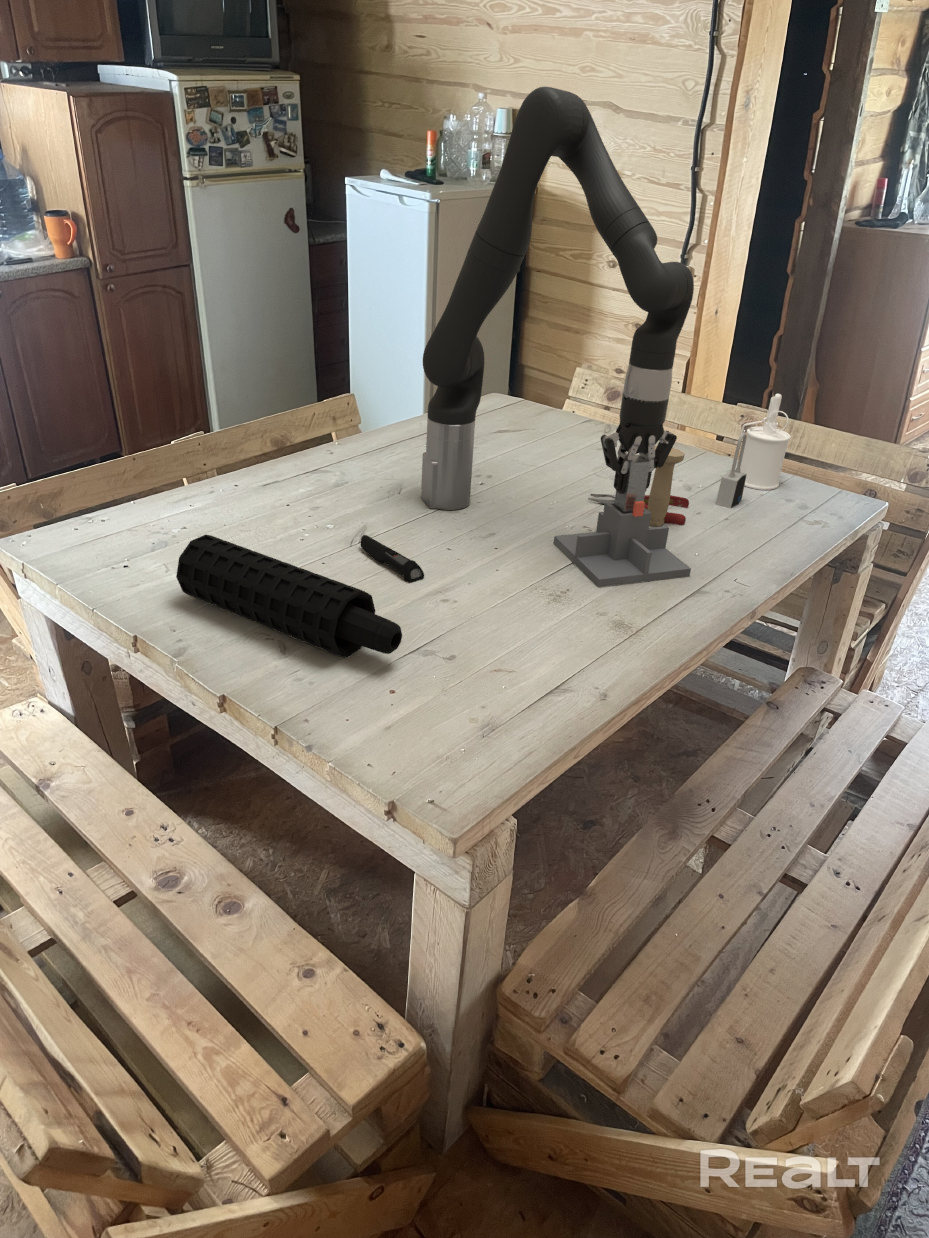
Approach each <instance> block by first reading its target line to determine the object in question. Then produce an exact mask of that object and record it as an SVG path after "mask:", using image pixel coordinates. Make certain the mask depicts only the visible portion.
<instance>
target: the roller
mask: <svg viewBox="0 0 929 1238" xmlns="http://www.w3.org/2000/svg"><path fill="white" fill-rule="evenodd" d="M175 578H176V579H177V582H178V584H179V586H180V589H181V590H182V591H181V592H182V593H184V594H186V595H188V596H190V597H192V598H195V599H198V600H199V601H202V602H205V603H207V604H209V605H213V606H214V607H217V608H220V609H222V610H224V611H227V612H230V613H232V614H234V615H236V616H238V617H242V618H245V619H246V620H248V621H251V622H254V623H257V624H260V625H261V626H263V627H265V628H269V629H271V630H274V631H276V632H279V633H280V634H284V635H285V636H288V637H291V638H293V639H295V640H299V641H300V642H303V643H305V644H308V645H311V646H312V647H315V648H318V649H321V650H323V651H325V652H326V653H327V652H328V653H330V654H333V655H334V656H338V657H342V658H346V659H347V658H349V657H351V656H352V655H354V654H355V653H357V652H358V651H359V650H362V648H363V647H364V648H367V649H369V650H372V651H376V652H378V653H382V654H385V655H386V654H387V655H391V654H392V653H393V652H395V651H396V650H397V649H398V648H399V646H400V645H401V643H402V639H403V632H402V628H401V626H400V624H398V623H396V622H394V621H392V620H390V619H388V618H386V617H383V616H380V615H378V614H376V609H375V604H374V599H373V595H371V594H370V593H369V592H366V591H364V590H363V589H360V588H358V587H355V586H352V585H348V584H345V583H344V582H340V581H338V580H335V579H331V578H329V577H327V576H324V575H321V574H319V573H315V572H313V571H311V570H308V569H305V568H302V567H299V566H295V565H293V564H291V563H288V562H286V561H282V560H279V559H277V558H274V557H272V556H268V555H266V554H263V553H260V552H258V551H255V550H251V549H250V548H247V547H245V546H240V545H237V544H235V543H233V542H231V541H228V540H224V539H222V538H219V537H217V536H214V535H210V534H204V535H201V536H199V537H197V538H196V537H195V538H194V539H192V540H190V541H189V542H188V544H187V546H185V548H184V549H183V551H182V553H181V554H180V555H179V557H178V562H177V569H176V577H175Z"/></svg>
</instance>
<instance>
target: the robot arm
mask: <svg viewBox="0 0 929 1238" xmlns="http://www.w3.org/2000/svg"><path fill="white" fill-rule="evenodd" d="M552 157H555V158H556V157H557V158H558V159H559V160H561V162H563V164H565V166H566V167H567V168H568V169H569V171H571V172H572V174H573V175H574V176H575V178H576V179H577V181H578V183H579V185H580V187H581V189H582V190H583V193H584V197H585V198H586V199H585V200H586V203H587V207H588V210H589V214H590V217H591V220H592V221H593V224H594V226H595V228H596V230H597V232H598V234H599V235H600V237H601V239H602V240H603V242H604V243H605V244H606V246H607V248H608V249H609V250H610V252H611V254H612V255H613V257H614V258H615V260H616V261H617V263H618V267H619V270H620V273H621V276H622V279H623V282H624V285H625V287H626V290H627V292H628V294H629V296H630V298H631V299H632V301H633V302H634V303H635V304H636V306H638V307H639V309H641V310H643V311H645V312H647V314H646V318H645V321H644V322H643V323H642V324H641V325H640V326H638V327H637V328H636V329H635V331H634V334H633V336H632V339H631V340H632V341H631V348H630V354H629V359H628V360H629V361H628V365H627V370H626V372H625V376H624V383H623V384H624V385H623V389H622V390H623V391H622V397H621V405H620V411H619V424H618V427H616V430H615V432H613V433H611V434H609V435H607V434H602V435H601V436H600V444H601V449H602V452H603V453H602V454H603V457H604V462H605V465H606V466H607V467H608V468H610V469H611V470H612V471H614V473H615V474H614V480H613V488H614V490H615V492H616V491H617V492H618V493H620V494H624V493H625V488H626V482H627V475H628V474H627V471H628V468H629V465H630V462H632V461H633V460H634V457H635V455H640V456H641V457H644V458H645V459H646V460H647V461H650V467H649V473H648V479H647V485H646V491H647V489H649V487H650V484H651V479H652V472H653V471H655V469H656V468H657V467H659V468H661V467H662V466H663V465H664V463H665V461H666V459H667V457H668V455H669V453H670V451H671V449H672V448H674V445H675V443H676V441H677V439H678V437H677V435H675V434H674V433H672V432H670V430H665V429H664V424H665V422H666V417H667V411H668V407H669V406H668V405H669V401H670V393H671V387H672V382H673V367H674V361H675V358H676V357H675V356H676V350H677V343H678V339H679V336H680V334H681V332H682V330H683V327H684V325H685V321H686V319H687V316H688V313H689V311H690V308H691V305H692V302H693V298H694V292H695V291H694V289H695V285H694V276H693V274H692V271H691V269H690V268H689V267H688V266H687V265H686V264H684V263H682V262H680V261H669V262H662V261H661V260H660V257H658V255H657V252H656V250H655V248H656V246H657V244H658V235H657V233H656V231H655V229H654V227H653V225H652V223H651V222H650V220H649V219H648V218H647V216H646V214H645V213H644V211H643V210H642V208H641V207H640V205H639V204H638V203H637V201H636V200H635V198H634V197H633V195H632V193H631V192H630V190H629V188H628V187H627V185H626V184H625V183H624V180H623V179H622V177H621V176H620V174H619V172H618V170H617V168H616V167H615V165H614V162H613V161H612V158H611V157H610V155H609V152H608V150H607V149H606V146H605V144H604V142H603V140H602V137H601V135H600V133H599V131H598V127H597V126H596V123H595V121H594V118H593V117H592V114H591V112H590V109H589V108H588V106H587V104H586V102H585V101H584V99H582V98H581V97H580V96H578V95H577V94H575V93H573V92H570V91H567V90H564V89H560V88H556V87H551V86H540V87H537V88H535V89H534V90H532V91H531V92H530V93H528V94H527V96H526V97H525V98H524V100H523V101H522V103H521V105H520V107H519V108H518V111H517V113H516V117H515V119H514V123H513V126H512V129H511V132H510V136H509V140H508V144H507V147H506V150H505V153H504V156H503V160H502V163H501V167H500V169H499V172H498V175H497V177H496V180H495V182H494V185H493V188H492V190H491V193H490V195H489V199H488V201H487V203H486V206H485V209H484V211H483V214H482V215H481V218H480V220H479V222H478V225H477V227H476V230H475V232H474V235H473V238H472V240H471V242H470V245H469V248H468V250H467V253H466V255H465V258H464V261H463V264H462V266H461V269H460V271H459V274H458V276H457V279H456V282H455V284H454V286H453V288H452V292H451V294H450V297H449V300H448V302H447V304H446V306H445V309H444V311H443V313H442V315H441V317H440V319H439V320H438V322H437V324H436V326H435V328H434V330H433V332H432V333H431V335H430V336H429V339H428V341H427V343H426V344H425V347H424V351H423V354H422V368H423V372H424V374H425V377H426V379H428V381H429V382H430V383H431V384H433V385H434V386H436V390H435V392H434V395H433V396H432V397H431V399H430V400H429V401H428V404H427V419H426V422H427V424H426V443H425V447H426V448H425V452H423V453H422V460H421V462H422V463H421V465H422V466H421V483H420V484H421V485H420V486H421V487H420V488H421V491H420V499H422V500H423V502H424V503H425V505H426V506H427V507H428V509H431V510H432V509H437V510H445V511H453V510H461V509H465V508H466V507H468V506H469V505H470V503H471V496H472V494H471V491H472V488H471V487H472V476H473V459H474V447H475V446H474V444H475V431H476V430H475V428H476V416H477V415H476V414H477V410H478V408H479V405H480V403H481V399H482V398H481V397H482V390H483V383H484V373H485V351H484V348H483V347H484V346H483V345H482V342H481V340H480V338H479V337H478V333H479V331H480V329H481V327H482V325H483V323H484V322H485V320H486V319H487V318H488V316H489V315H490V314H491V312H492V310H493V309H494V308H495V307H496V305H497V304H498V303H499V301H500V300H501V299H502V298H503V296H504V294H506V292H507V291H508V290H509V288H510V286H511V284H513V281H514V279H515V278H516V276H517V274H518V272H519V271H520V267H521V264H522V262H523V260H524V259H525V257H526V254H527V252H528V249H529V246H530V243H531V242H530V241H531V237H532V230H533V229H532V228H533V206H534V199H535V193H536V192H537V191H536V190H537V187H538V186H539V185H538V184H539V182H540V180H541V177H542V175H543V173H544V170H545V169H546V166H547V165H548V162H549V161H550V159H551V158H552ZM618 442H619V443H620V445H619V448H618V450H617V449H616V448H617V447H618ZM657 443H658V444H657ZM656 444H657V445H656ZM655 446H657V447H656V449H655ZM646 491H645V493H646Z"/></svg>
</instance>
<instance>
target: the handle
mask: <svg viewBox="0 0 929 1238" xmlns="http://www.w3.org/2000/svg"><path fill="white" fill-rule="evenodd" d="M656 447H657V445H655V449H656ZM684 459H685V452H684V451H682V450H681V449H678V448H675V447H672V449H671V451H670V453H669V455H668V457H667V459H666V461H665V463H664V465H663V466H662V467H661V468H659V467H657V468H655V469H654V474H653V479H652V483H651V487H650V491H649V494H648V495H649V501H648V511H650V512H651V513H652V514H651V519H650V525H649V526H652V527H653V526H654V527H662V526H664V524H665V523H664V520H665V519H664V518H665V516H666V513H667V512H668V509H669V506H670V505H669V501H670V495H671V493H672V483H673V476H674V471H675V465H677V464H679V463H682V462H683V461H684Z"/></svg>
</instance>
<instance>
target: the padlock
mask: <svg viewBox="0 0 929 1238" xmlns="http://www.w3.org/2000/svg"><path fill="white" fill-rule="evenodd" d="M746 438H747V432H743V433H742V434H741V433H740V436H739V437H738V439H737V444H736V446H735V447H736V448H735V451H734V457H733V461H732V466H731V470H728V471H726V472H725V473H724V474H723V475H722V476H721V479H720V484H719V487H718V488H719V489H718V492H717V497H716V501H715V505H717V506H721V507H725V508H728V509H732V508H734V507H736V506H737V505H739V503H740V502H741V501H742V499H743V495H744V490H745V486H744V485H745V480H746V475H747V474H746V473H742V472H740V471H741V469H740V467H741V462H742V458H743V453H744V448H745V444H746ZM739 449H740V450H739Z"/></svg>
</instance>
